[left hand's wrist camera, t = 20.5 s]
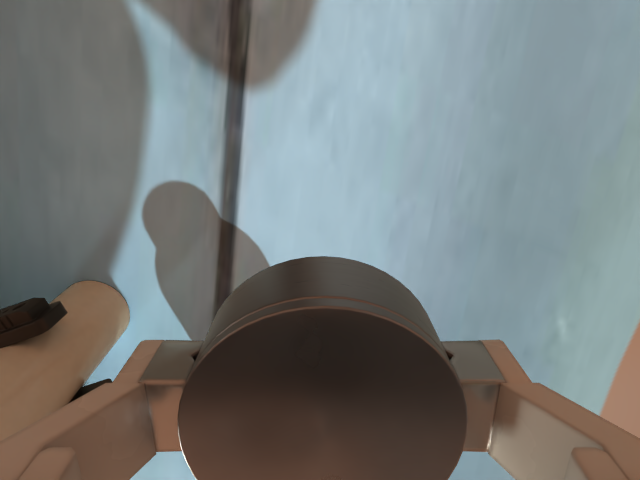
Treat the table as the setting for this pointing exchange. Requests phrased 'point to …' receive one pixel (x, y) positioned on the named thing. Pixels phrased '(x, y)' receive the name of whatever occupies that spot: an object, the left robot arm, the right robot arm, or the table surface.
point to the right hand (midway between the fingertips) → (81, 356)
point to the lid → (322, 381)
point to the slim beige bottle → (59, 355)
